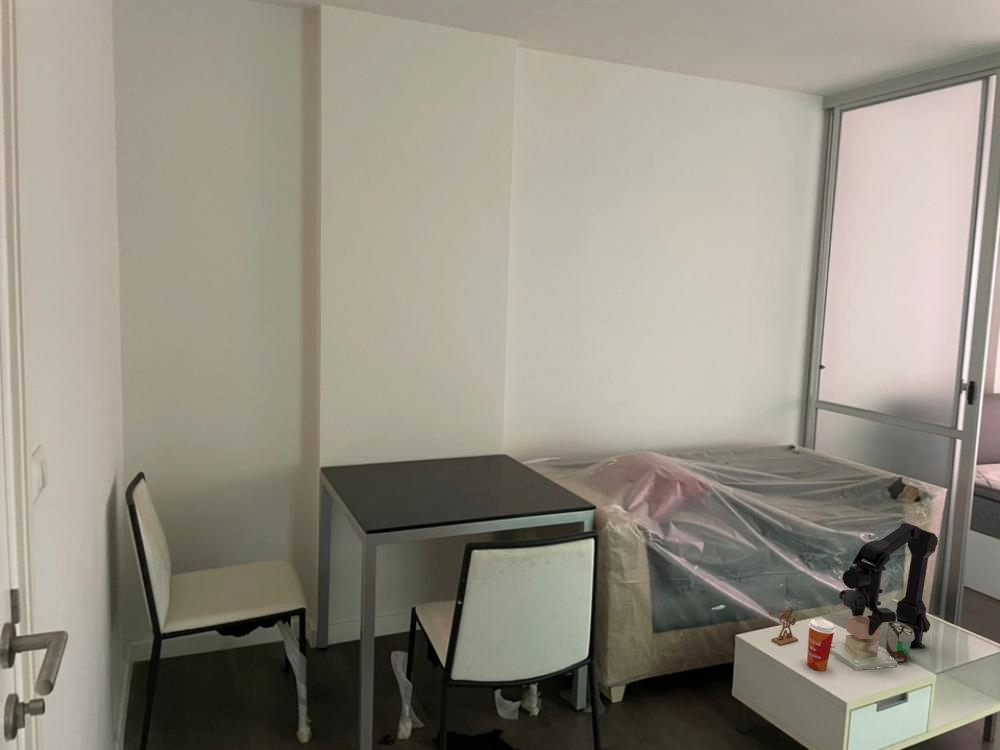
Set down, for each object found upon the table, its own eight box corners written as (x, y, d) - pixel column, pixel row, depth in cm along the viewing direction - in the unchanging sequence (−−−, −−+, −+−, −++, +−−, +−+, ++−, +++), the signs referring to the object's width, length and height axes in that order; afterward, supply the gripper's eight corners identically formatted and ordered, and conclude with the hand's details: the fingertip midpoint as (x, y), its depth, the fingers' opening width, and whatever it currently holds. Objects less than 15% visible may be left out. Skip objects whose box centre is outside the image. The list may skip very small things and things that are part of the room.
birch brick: (864, 648, 250) (866, 633, 250) (877, 656, 245) (879, 641, 244) (844, 650, 248) (846, 635, 247) (856, 658, 243) (858, 643, 242)
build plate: (864, 645, 255) (865, 639, 255) (897, 666, 242) (898, 659, 242) (824, 649, 251) (825, 642, 251) (855, 670, 238) (856, 663, 237)
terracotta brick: (867, 629, 249) (869, 615, 249) (879, 637, 244) (881, 622, 243) (846, 631, 247) (848, 616, 247) (858, 639, 242) (860, 624, 241)
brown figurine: (788, 636, 258) (792, 602, 257) (798, 641, 255) (802, 607, 254) (770, 641, 254) (775, 606, 253) (780, 646, 251) (784, 611, 249)
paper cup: (798, 660, 242) (804, 617, 240) (822, 660, 242) (827, 618, 241) (810, 672, 234) (816, 629, 232) (835, 673, 235) (840, 629, 233)
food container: (916, 668, 242) (921, 638, 241) (895, 665, 243) (899, 635, 242) (904, 650, 254) (908, 622, 253) (884, 647, 255) (888, 619, 254)
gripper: (828, 574, 250) (822, 619, 252) (871, 597, 232) (864, 646, 234) (856, 572, 253) (850, 617, 255) (900, 595, 236) (894, 644, 237)
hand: (863, 631), depth 245 cm, fingers open, 6 cm apart
